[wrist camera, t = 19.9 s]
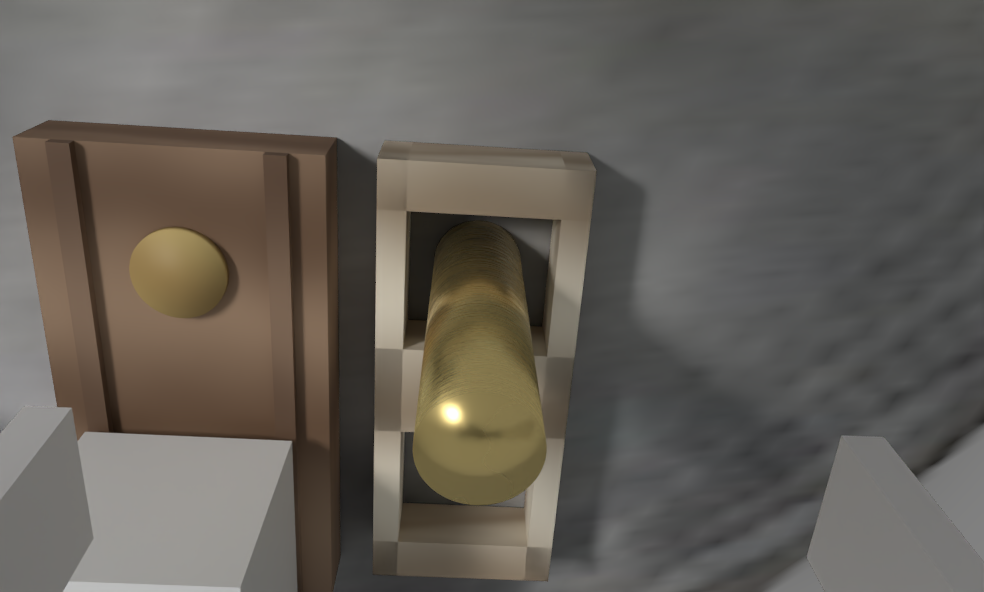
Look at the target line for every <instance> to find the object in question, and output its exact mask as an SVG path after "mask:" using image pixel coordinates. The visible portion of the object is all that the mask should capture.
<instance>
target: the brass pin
mask: <svg viewBox="0 0 984 592" xmlns="http://www.w3.org/2000/svg"><path fill="white" fill-rule="evenodd" d="M546 453H547V444H546V437H545V430H544V423H543V415H542V408H541V401H540V394H539V387H538V380H537V373H536V366H535V358H534V351H533V344H532V337H531V330H530V323H529V316H528V309H527V302H526V294H525V287H524V280H523V273H522V266H521V259H520V252H519V249H518V246H517V244H516V242H515V240H514V239H513V237H512V236H511V235H510V234H509V233H508V232H507V231H506V230H505V229H503V228H502V227H500V226H498V225H496V224H494V223H491V222H487V221H480V220H476V221H468V222H464V223H461V224H459V225H457V226H455V227H453V228H452V229H450V230H449V231H448V232H447V233H446V234H445V235H444V236H443V237H442V239H441V240H440V242H439V244H438V246H437V248H436V252H435V258H434V267H433V275H432V284H431V293H430V301H429V310H428V318H427V327H426V335H425V344H424V353H423V361H422V370H421V378H420V387H419V395H418V404H417V413H416V421H415V430H414V438H413V459H414V463H415V466H416V468H417V471H418V472H419V474H420V476H421V477H422V479H423V480H424V481H425V483H426V484H427V485H428V486H429V487H430V488H431V489H433V490H434V491H435V492H437V493H438V494H440V495H442V496H443V497H445V498H447V499H450V500H452V501H455V502H458V503H462V504H468V505H490V504H496V503H500V502H503V501H506V500H509V499H511V498H513V497H515V496H517V495H519V494H520V493H522V492H523V491H525V490H526V489H527V488H528V487H529V486H530V485H531V484H532V483H533V482H534V481H535V480H536V478H537V477H538V476H539V474H540V472H541V470H542V468H543V466H544V463H545V459H546Z"/></svg>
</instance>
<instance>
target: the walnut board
mask: <svg viewBox="0 0 984 592" xmlns="http://www.w3.org/2000/svg"><path fill="white" fill-rule="evenodd" d="M13 143H14V149H15V155H16V161H17V167H18V173H19V179H20V185H21V191H22V197H23V203H24V209H25V215H26V221H27V227H28V233H29V239H30V245H31V251H32V257H33V263H34V269H35V275H36V281H37V288H38V294H39V300H40V306H41V312H42V318H43V324H44V330H45V336H46V342H47V348H48V354H49V360H50V366H51V372H52V378H53V384H54V390H55V396H56V402H57V407H67V408H72V412H73V418H74V424H75V430H76V436H77V442H78V440H79V439H80V438H81V436H82V435H83V434H84V432H103V433H125V434H148V435H170V436H193V437H215V438H238V439H260V440H283V441H292V452H293V480H294V508H295V536H296V563H297V591H298V592H333V589H334V584H335V579H336V575H337V570H338V565H339V560H340V556H341V546H340V435H339V325H338V214H337V138H334V137H318V136H301V135H285V134H268V133H251V132H235V131H218V130H201V129H185V128H168V127H152V126H135V125H118V124H102V123H85V122H68V121H52V120H48V121H46V122H44V123H42V124H39V125H37V126H35V127H33V128H31V129H29V130H26V131H24V132H22V133H20V134H18V135H15V136H13Z"/></svg>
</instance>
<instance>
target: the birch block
mask: <svg viewBox="0 0 984 592" xmlns="http://www.w3.org/2000/svg"><path fill="white" fill-rule="evenodd" d="M596 173H597V171H596V169H595V167H594V165H593V163H592V161H591V159H590V157H589V155H588V153H584V152H567V151H551V150H534V149H517V148H501V147H484V146H467V145H451V144H434V143H418V142H401V141H384V143H383V146H382V148H381V150H380V153H379V155H378V158H377V219H376V313H375V407H374V502H373V575H395V576H421V577H448V578H475V579H501V580H528V581H548V577H549V568H550V560H551V551H552V543H553V534H554V526H555V518H556V509H557V501H558V492H559V484H560V476H561V467H562V459H563V450H564V442H565V434H566V425H567V417H568V408H569V400H570V391H571V383H572V375H573V366H574V358H575V349H576V341H577V333H578V324H579V316H580V307H581V299H582V291H583V282H584V274H585V265H586V257H587V248H588V240H589V232H590V223H591V215H592V206H593V198H594V190H595V181H596ZM411 211H413V212H431V213H448V214H466V215H484V216H501V217H519V218H537V219H553V223H552V233H551V243H550V253H549V263H548V273H547V283H546V293H545V303H544V313H543V324H542V327H540V326H530V330H531V337H532V344H533V351H534V358H535V366H536V373H537V380H538V387H539V394H540V401H541V408H542V415H543V423H544V430H545V437H546V444H547V453H546V459H545V463H544V466H543V468H542V470H541V472H540V474H539V476H538V477H537V478H536V480H535V481H534V482H533V483H532V484H531V485H530V486H529V487H528V488H527V489H526V494H525V504H524V508H516V507H491V506H467V505H443V504H419V503H403V478H404V442H405V432H414V430H415V421H416V413H417V404H418V395H419V387H420V378H421V370H422V361H423V353H424V344H425V335H426V327H427V321H422V320H408V298H409V262H410V226H411Z"/></svg>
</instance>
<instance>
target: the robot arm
mask: <svg viewBox="0 0 984 592" xmlns="http://www.w3.org/2000/svg"><path fill="white" fill-rule="evenodd" d="M93 539H94V537H93V531H92V525H91V519H90V513H89V507H88V501H87V495H86V489H85V484H84V478H83V472H82V466H81V460H80V454H79V448H78V442H77V436H76V430H75V424H74V418H73V412H72V408H67V407H39V406H24V407H23V408H22V409H21V410H20V411H19V412H18V414H17V415H16V416H15V417H14V418H13V419H12V420H11V422H10V423H9V424H8V425H7V426H6V427H5V429H4V430H3V431H2V432H1V433H0V592H63V591H64V589H65V587H66V585H67V584H68V582H69V580H70V578H71V577H72V575H73V573H74V572H75V570H76V568H77V566H78V565H79V563H80V561H81V559H82V558H83V556H84V554H85V553H86V551H87V549H88V547H89V546H90V544H91V542H92V540H93ZM806 558H807V560H808V561H809V563H810V565H811V567H812V569H813V571H814V573H815V575H816V576H817V578H818V580H819V582H820V584H821V585H822V588H823V590H824V591H825V592H984V562H983V560H982V559H981V558H980V556H979V555H978V554H977V553H976V552H975V550H974V549H973V548H972V546H971V545H970V544H969V543H968V541H967V540H966V539H965V538H964V536H963V535H962V534H961V533H960V531H959V530H958V529H957V528H956V527H955V525H954V524H953V523H952V522H951V520H950V519H949V518H948V517H947V515H946V514H945V513H944V512H943V510H942V509H941V508H940V507H939V505H938V504H937V503H936V502H935V500H934V499H933V498H932V497H931V495H930V494H929V493H928V492H927V491H926V489H925V488H924V487H923V485H922V484H921V483H920V482H919V480H918V479H917V478H916V477H915V475H914V474H913V473H912V472H911V470H910V469H909V468H908V467H907V465H906V464H905V463H904V462H903V460H902V459H901V458H900V457H899V455H898V454H897V453H896V452H895V450H894V449H893V448H892V447H891V445H890V444H889V443H888V442H887V440H886V439H885V438H884V437H873V436H845V435H841V439H840V442H839V446H838V449H837V452H836V456H835V459H834V463H833V466H832V470H831V473H830V477H829V480H828V484H827V487H826V491H825V494H824V498H823V501H822V505H821V508H820V512H819V515H818V519H817V522H816V526H815V529H814V533H813V536H812V540H811V543H810V547H809V550H808V554H807V557H806Z"/></svg>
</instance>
